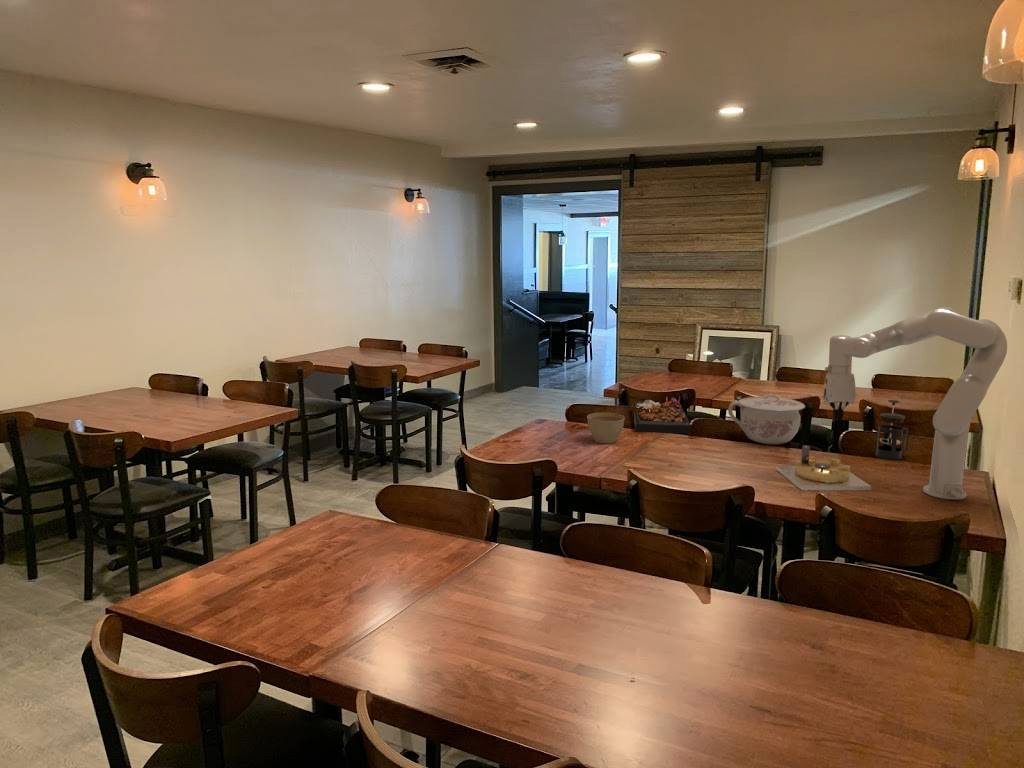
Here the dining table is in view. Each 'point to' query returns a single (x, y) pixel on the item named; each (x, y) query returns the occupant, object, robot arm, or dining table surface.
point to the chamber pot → (768, 418)
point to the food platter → (661, 417)
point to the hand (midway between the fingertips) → (837, 419)
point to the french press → (892, 451)
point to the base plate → (806, 484)
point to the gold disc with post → (821, 468)
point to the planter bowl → (605, 426)
